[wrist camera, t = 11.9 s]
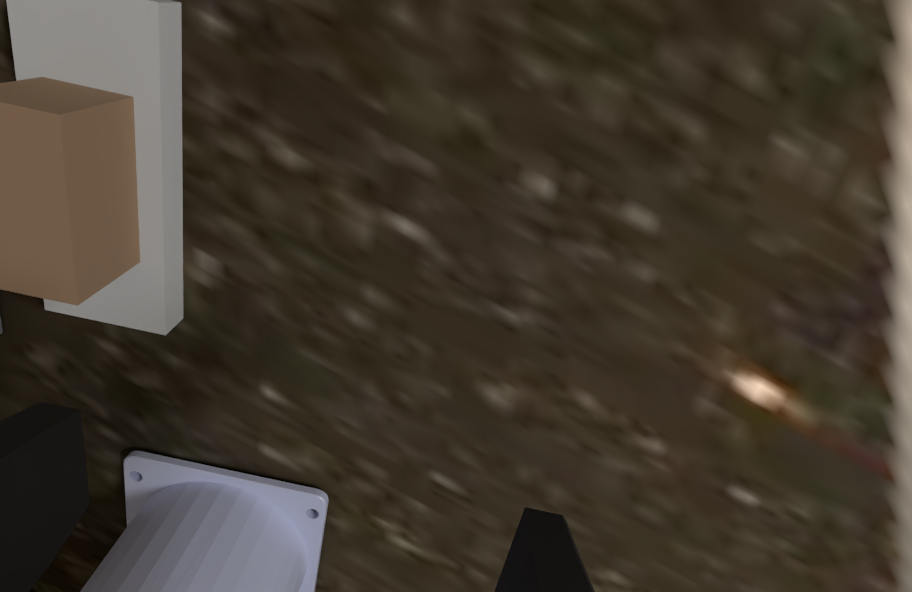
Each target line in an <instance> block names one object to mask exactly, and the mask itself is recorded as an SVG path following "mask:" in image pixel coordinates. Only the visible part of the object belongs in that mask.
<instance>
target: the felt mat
mask: <svg viewBox="0 0 912 592" xmlns="http://www.w3.org/2000/svg"><path fill="white" fill-rule="evenodd" d="M2 333H3V329H2V323H1V317H0V334H2Z"/></svg>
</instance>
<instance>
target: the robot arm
mask: <svg viewBox="0 0 912 592" xmlns="http://www.w3.org/2000/svg"><path fill="white" fill-rule="evenodd" d="M123 466H124V483H125V501H126V518H127V528H126V529H125V530H124V532H123V533H122V535H121V536H120V537H119V539H118V540H117V541H116V543H115V544H114V546H113V547H112V548H111V550H110V551H109V552H108V554H107V555H106V557H105V558H104V559H103V561H102V562H101V563H100V565H99V566H98V568H97V569H96V570H95V572H94V573H93V574H92V576H91V577H90V579H89V580H88V581H87V583H86V584H85V586H84V587H83V588H82V590H81V591H80V592H315V586H316V580H317V573H318V567H319V560H320V553H321V547H322V540H323V534H324V527H325V521H326V514H327V508H328V501H329V500H328V496H327V494H326V493H325V492H323V491H322V490H319V489H316V488H311V487H306V486H302V485H297V484H292V483H288V482H283V481H278V480H274V479H269V478H264V477H260V476H255V475H250V474H246V473H241V472H236V471H232V470H227V469H222V468H218V467H213V466H208V465H204V464H199V463H194V462H190V461H185V460H180V459H176V458H171V457H166V456H162V455H157V454H152V453H147V452H143V451H132V452H131V453H130V454H129V455H128V456H127V457H126V458H125V459H124V463H123ZM138 472H139V473H138ZM89 504H90V499H89V490H88V480H87V471H86V461H85V452H84V442H83V433H82V423H81V413H80V410H77V409H72V408H68V407H63V406H58V405H54V404H49V403H45V402H41V403H39V404H36V405H34V406H32V407H30V408H27V409H25V410H23V411H21V412H19V413H17V414H14V415H12V416H10V417H8V418H6V419H4V420H2V421H0V592H29V591H30V589H31V588H32V587H33V586H34V584H35V583H36V582H37V581H38V579H39V578H40V577H41V576H42V574H43V573H44V572H45V571H46V569H47V568H48V567H49V566H50V564H51V563H52V561H53V560H54V558H55V557H56V555H57V554H58V552H59V551H60V549H61V548H62V546H63V545H64V543H65V542H66V540H67V539H68V537H69V536H70V534H71V533H72V531H73V529H74V528H75V526H76V525H77V523H78V521H79V520H80V518H81V516H82V515H83V513H84V512H85V510H86V508H87V507H88V505H89ZM311 509H314V510H316V511H313V510H311ZM495 592H594V589H593V587H592V585H591V582H590V580H589V577H588V575H587V573H586V570H585V568H584V565H583V563H582V560H581V558H580V555H579V553H578V550H577V548H576V545H575V543H574V540H573V537H572V535H571V532H570V530H569V527H568V524H567V522H566V520H565V519H564V517H563V516H562V515H559V514H554V513H549V512H545V511H540V510H536V509H531V508H526V507H525V509H524V512H523V515H522V517H521V520H520V523H519V526H518V528H517V531H516V534H515V537H514V539H513V542H512V545H511V548H510V550H509V553H508V556H507V559H506V561H505V564H504V567H503V570H502V572H501V575H500V578H499V581H498V583H497V586H496V589H495Z"/></svg>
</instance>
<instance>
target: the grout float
mask: <svg viewBox="0 0 912 592" xmlns="http://www.w3.org/2000/svg"><path fill="white" fill-rule="evenodd" d="M6 2H7V10H8V18H9V26H10V34H11V42H12V50H13V58H14V66H15V74H16V81H12V82H5V83H0V289H1V290H6V291H11V292H15V293H20V294H25V295H29V296H34V297H39V298H43V299H44V307H45V310H49V311H53V312H58V313H63V314H67V315H72V316H77V317H81V318H86V319H91V320H96V321H100V322H105V323H110V324H114V325H119V326H124V327H128V328H133V329H138V330H143V331H147V332H152V333H157V334H161V335H167V334H168V333H169V332H170V331H171V330H172V329H173V328H174V327H175V326H176V325H177V324H178V323H179V322H180V321H181V320H182V319H183V200H182V49H181V3H180V2H176V1H171V0H6Z"/></svg>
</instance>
